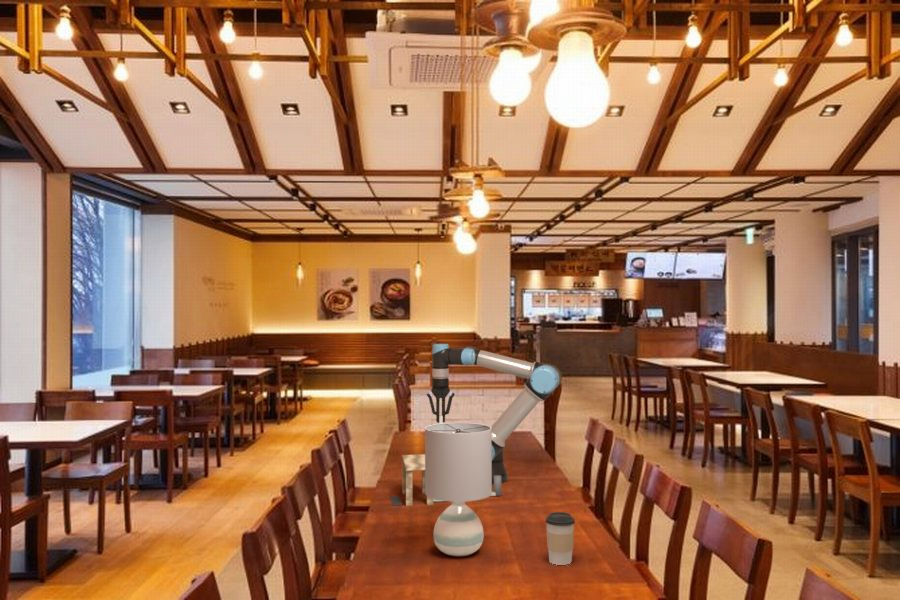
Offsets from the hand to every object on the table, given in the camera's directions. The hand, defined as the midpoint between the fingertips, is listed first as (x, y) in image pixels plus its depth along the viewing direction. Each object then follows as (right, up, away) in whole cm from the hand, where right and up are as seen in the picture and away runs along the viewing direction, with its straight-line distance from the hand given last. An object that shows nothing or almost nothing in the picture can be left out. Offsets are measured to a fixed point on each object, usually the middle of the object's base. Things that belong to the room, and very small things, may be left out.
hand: (440, 429), depth 331 cm
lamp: (+7, -23, -94) cm, 97 cm away
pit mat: (-18, -24, -30) cm, 42 cm away
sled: (+11, -24, -24) cm, 35 cm away
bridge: (-9, -24, -27) cm, 37 cm away
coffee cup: (+39, -23, -104) cm, 113 cm away
